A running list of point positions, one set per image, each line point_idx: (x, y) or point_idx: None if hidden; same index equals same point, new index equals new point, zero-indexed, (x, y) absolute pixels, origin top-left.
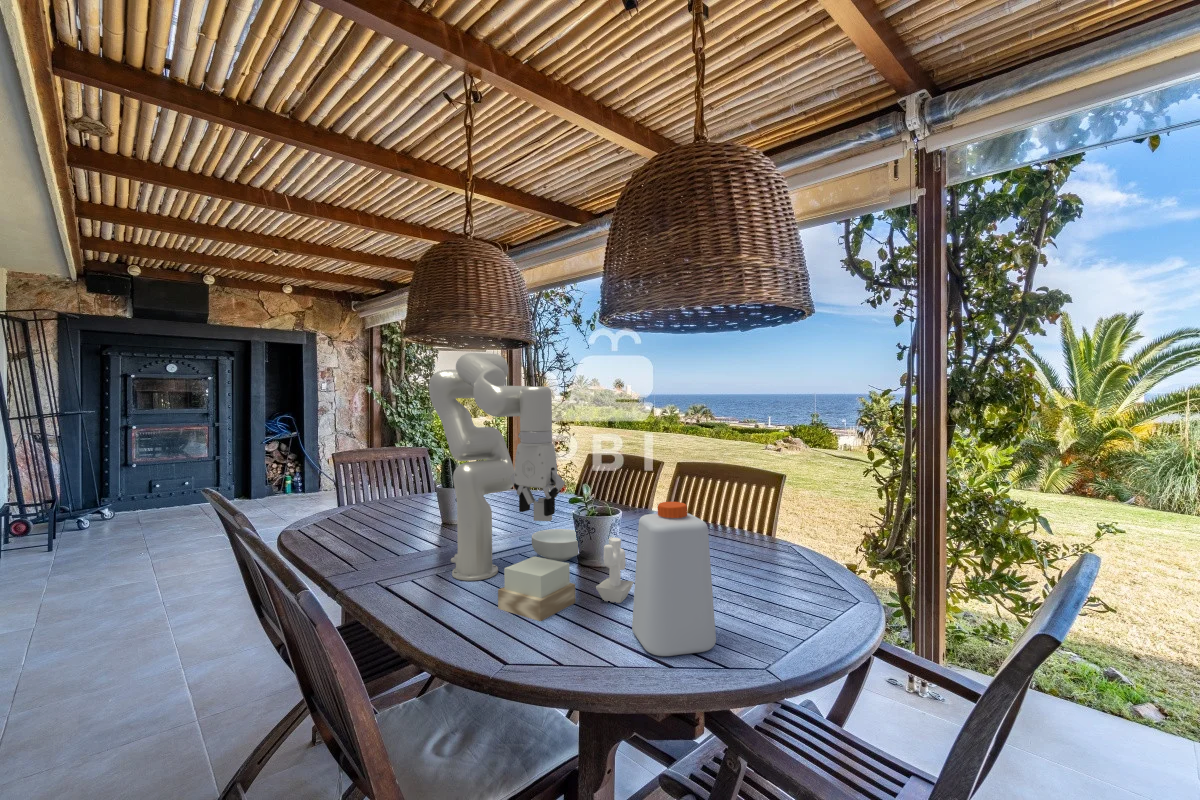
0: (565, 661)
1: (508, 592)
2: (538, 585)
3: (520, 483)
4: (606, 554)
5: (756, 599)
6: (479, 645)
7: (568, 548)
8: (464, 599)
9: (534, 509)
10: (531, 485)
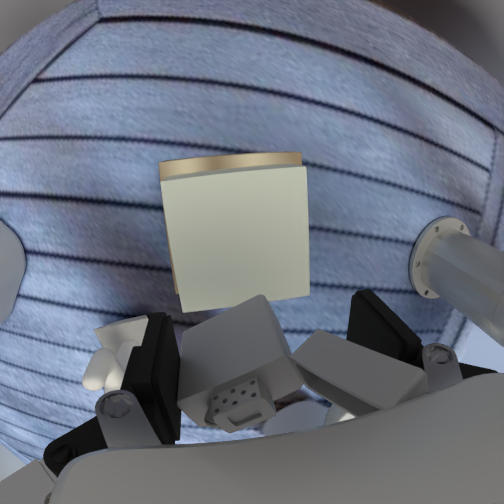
0: (34, 91)
1: (265, 153)
2: (173, 177)
3: (458, 396)
4: (94, 364)
5: (30, 412)
6: (185, 22)
7: (336, 410)
8: (378, 149)
9: (268, 329)
10: (283, 444)
